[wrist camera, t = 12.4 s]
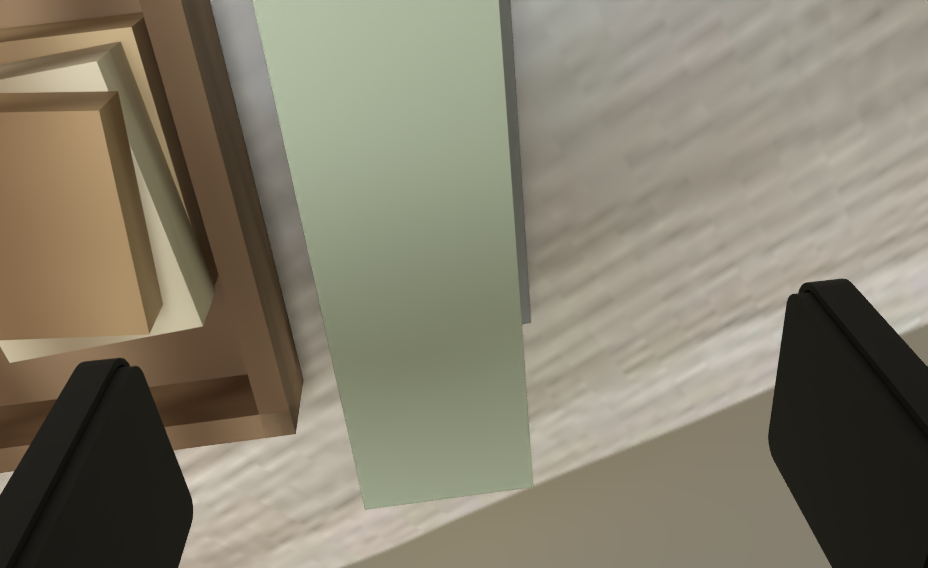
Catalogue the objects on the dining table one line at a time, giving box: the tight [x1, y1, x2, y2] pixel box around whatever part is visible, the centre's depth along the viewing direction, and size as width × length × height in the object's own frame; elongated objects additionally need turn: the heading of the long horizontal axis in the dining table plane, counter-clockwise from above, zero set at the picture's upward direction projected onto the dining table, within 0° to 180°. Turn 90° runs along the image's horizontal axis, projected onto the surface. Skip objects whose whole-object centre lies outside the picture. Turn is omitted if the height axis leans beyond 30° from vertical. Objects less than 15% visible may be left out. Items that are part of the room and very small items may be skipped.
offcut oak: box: [0, 12, 219, 286], centre depth 23 cm, size 6×8×2 cm
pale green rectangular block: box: [252, 0, 533, 510], centre depth 20 cm, size 4×12×10 cm, turn 6°
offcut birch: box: [0, 41, 216, 363], centre depth 22 cm, size 6×8×2 cm
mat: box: [499, 0, 531, 324], centre depth 25 cm, size 7×16×1 cm, turn 6°
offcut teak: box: [0, 91, 163, 340], centre depth 20 cm, size 5×6×2 cm
